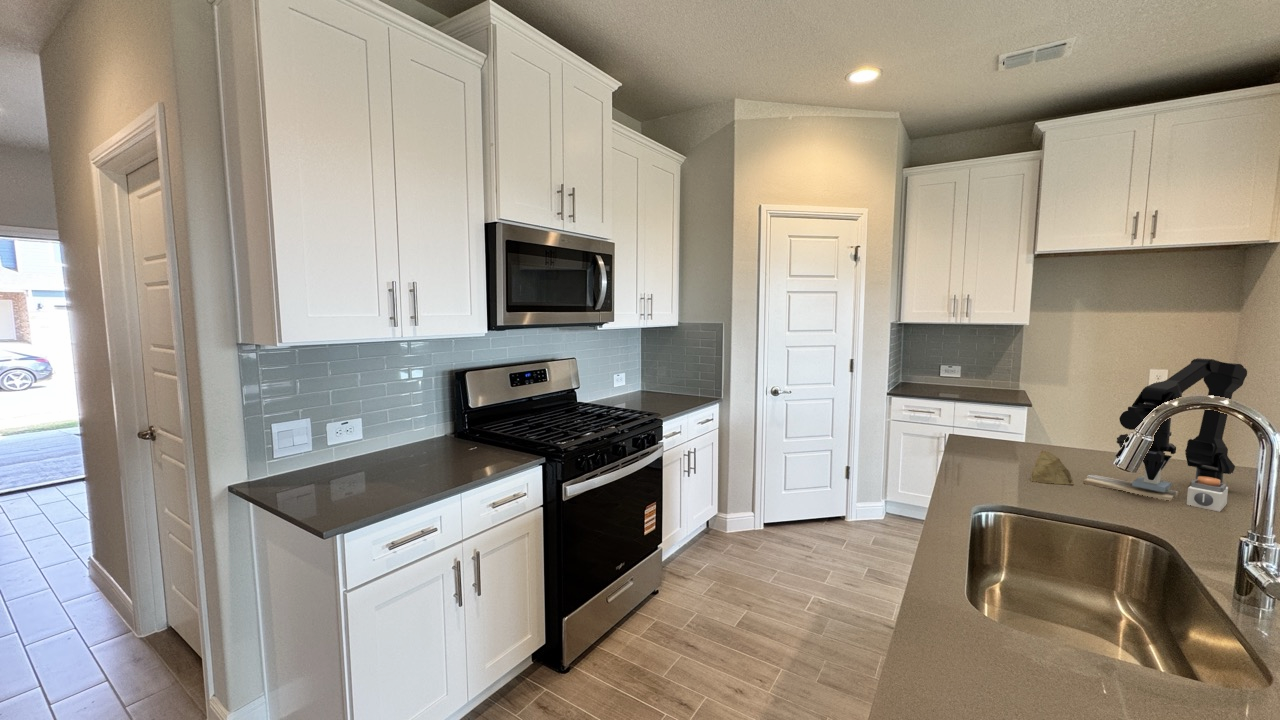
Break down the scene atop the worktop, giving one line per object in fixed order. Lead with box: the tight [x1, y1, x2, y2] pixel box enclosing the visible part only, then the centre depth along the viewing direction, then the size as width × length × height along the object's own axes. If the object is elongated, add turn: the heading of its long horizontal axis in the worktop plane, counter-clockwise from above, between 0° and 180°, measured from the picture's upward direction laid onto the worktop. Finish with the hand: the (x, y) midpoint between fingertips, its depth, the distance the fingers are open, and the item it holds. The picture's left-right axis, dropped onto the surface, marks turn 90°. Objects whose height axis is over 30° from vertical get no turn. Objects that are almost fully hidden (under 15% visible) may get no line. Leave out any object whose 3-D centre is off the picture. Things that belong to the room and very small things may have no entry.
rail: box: [1082, 474, 1180, 502], centre depth 162 cm, size 10×20×2 cm, turn 34°
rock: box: [1030, 450, 1074, 485], centre depth 167 cm, size 11×9×10 cm
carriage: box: [1132, 468, 1172, 492], centre depth 157 cm, size 8×7×6 cm
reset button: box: [1197, 476, 1221, 486], centre depth 147 cm, size 4×4×1 cm
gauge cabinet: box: [1186, 478, 1229, 513], centre depth 148 cm, size 10×6×6 cm, turn 124°
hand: (1152, 478), depth 157 cm, fingers closed on carriage, 3 cm apart
